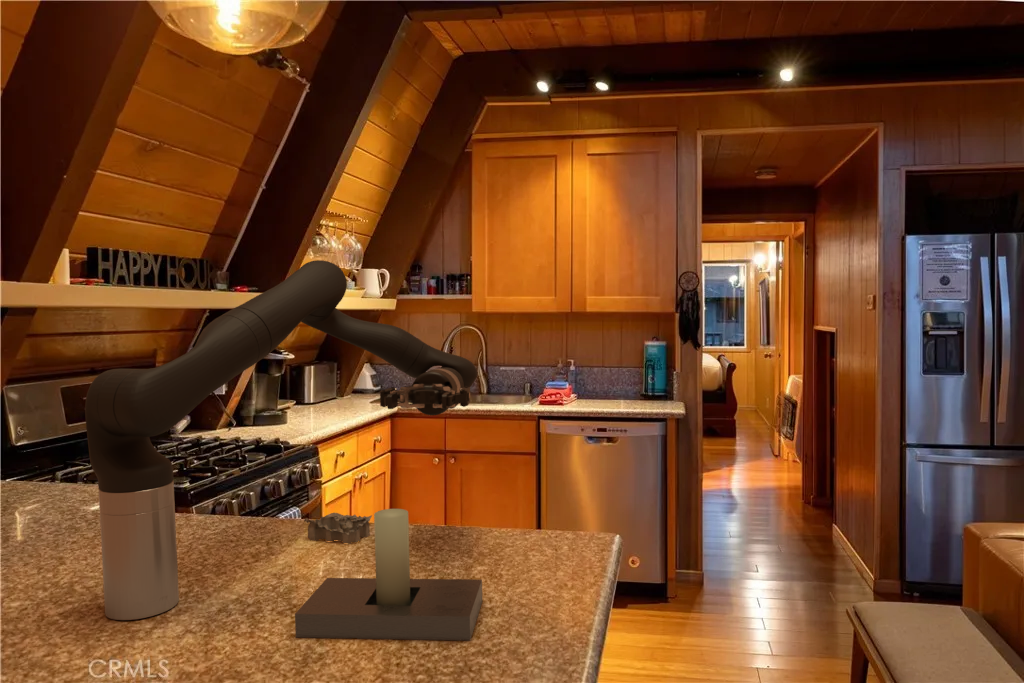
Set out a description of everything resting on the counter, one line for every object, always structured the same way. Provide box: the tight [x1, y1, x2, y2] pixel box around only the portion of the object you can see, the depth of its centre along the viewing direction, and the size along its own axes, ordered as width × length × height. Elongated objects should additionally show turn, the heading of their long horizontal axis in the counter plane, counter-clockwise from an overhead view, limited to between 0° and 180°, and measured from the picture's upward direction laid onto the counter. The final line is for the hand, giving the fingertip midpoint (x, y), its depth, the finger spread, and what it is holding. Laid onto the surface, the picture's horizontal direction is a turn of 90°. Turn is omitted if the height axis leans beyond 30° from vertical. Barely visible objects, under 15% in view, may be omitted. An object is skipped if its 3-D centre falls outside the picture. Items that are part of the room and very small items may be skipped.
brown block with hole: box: [294, 577, 484, 642], centre depth 96 cm, size 22×12×3 cm, turn 85°
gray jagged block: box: [303, 512, 373, 544], centre depth 131 cm, size 11×8×4 cm
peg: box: [373, 508, 411, 606], centre depth 96 cm, size 4×4×14 cm
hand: (416, 402), depth 112 cm, fingers open, 8 cm apart
